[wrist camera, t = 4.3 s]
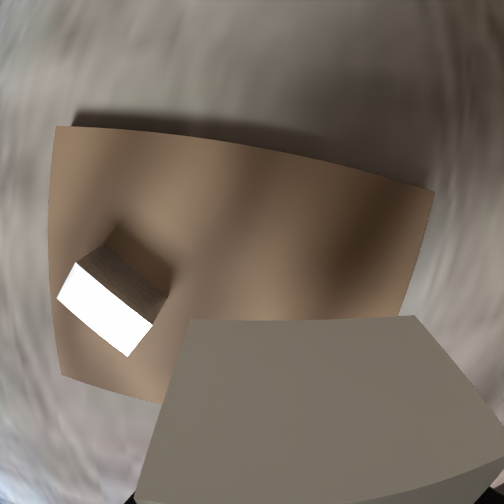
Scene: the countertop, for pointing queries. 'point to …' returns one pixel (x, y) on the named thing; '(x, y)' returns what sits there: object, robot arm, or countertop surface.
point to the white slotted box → (319, 418)
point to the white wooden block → (112, 298)
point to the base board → (221, 241)
